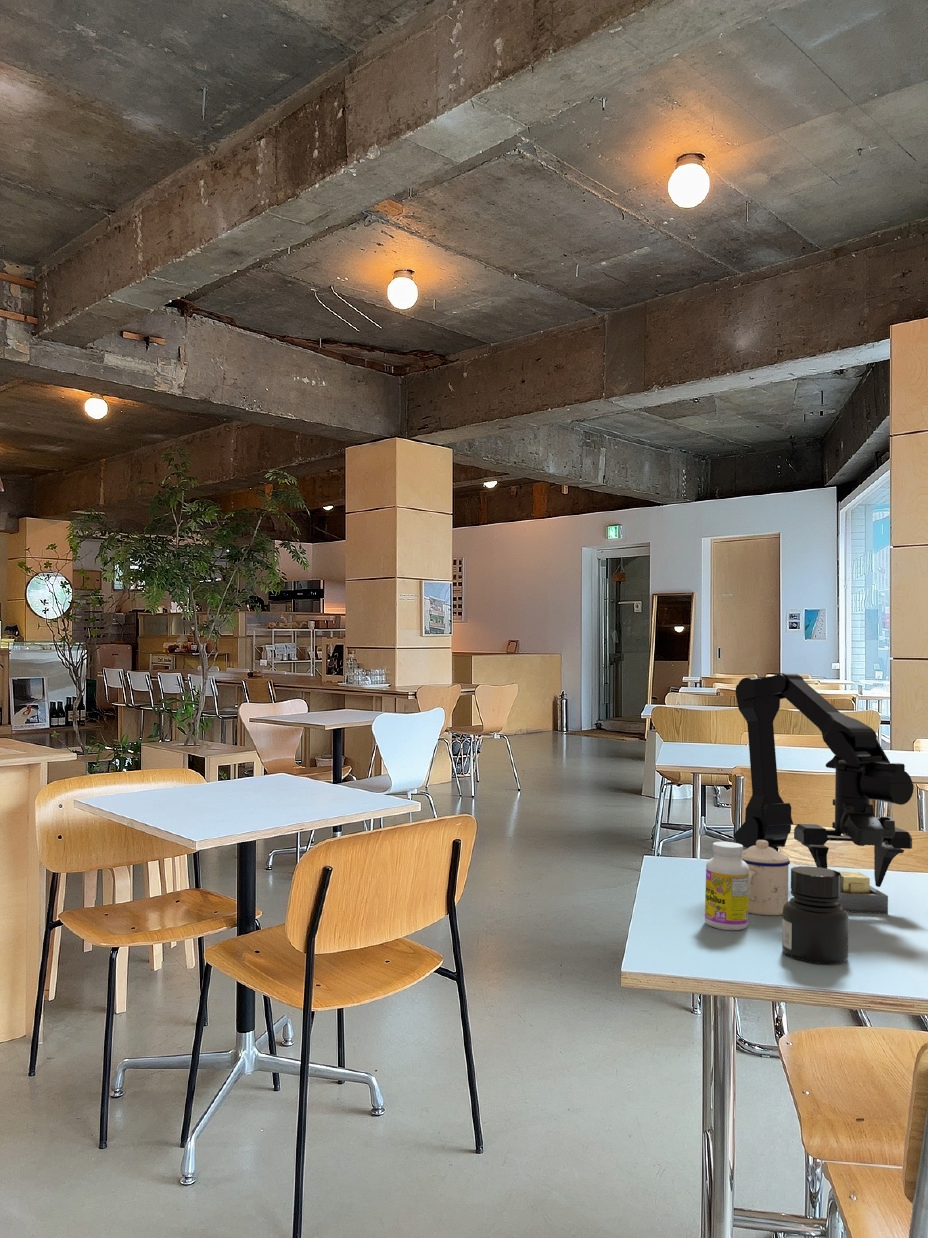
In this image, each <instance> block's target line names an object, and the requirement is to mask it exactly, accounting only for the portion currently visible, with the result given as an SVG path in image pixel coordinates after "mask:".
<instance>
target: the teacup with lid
mask: <svg viewBox="0 0 928 1238" xmlns="http://www.w3.org/2000/svg"><path fill="white" fill-rule="evenodd" d="M741 857H742V860H743V861H744V862H746V863H747V865H748V867H749V895H748V914H754V915H759V916H760V915H761V916H783V906H784V905H785V904H786V903H787V902H788V901H789V865H790V863H791V861H790V858H789V857H788V856H787V855H785V854H783V853H781V852H779V851H778V852H777V851H776V850H775V849H773V848H771V847H768V841H766V840H757V841H756V846H751V847H749V848H747V849H746V850H743V853H742V856H741Z"/></svg>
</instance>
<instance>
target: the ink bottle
mask: <svg viewBox="0 0 928 1238" xmlns="http://www.w3.org/2000/svg"><path fill="white" fill-rule="evenodd" d="M790 895H791V896H792V897H791V898H790V899H789V900H788V902H787V903H786V904H785V905H784V906H783V914H782V925H781V928H782V933H781V935H782V936H781V938H782V939H781V941H782V942H781V944H782V945H781V946H782V947H781V948H782V951H783V953H784V954H786V955H787V956H789V957H791V958H794V959H797V960H800V961H805V962H809V963H813V964H821V965H833V964H840V963H843V962H845V961H846V960H847V961H848V957H849V924H850V923H849V921H850V920H849V919H850V917H849V914H848V913H849V912H847V911H846V910H845V909H844V908H843V907H842V906H841V904H840V903H838V902H837V901H839V900H840V899H841V896H840V895H841V874H840V872H837V870H833V869H832V868H831V869H830V868H828V869H826V868H820V867H817V866H811V865H810V866H809V865H807V866H804V865H803V866H801V865H800V866H793V867H791V868H790Z"/></svg>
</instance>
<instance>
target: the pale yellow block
mask: <svg viewBox="0 0 928 1238" xmlns="http://www.w3.org/2000/svg"><path fill="white" fill-rule="evenodd" d="M836 871H837V870H836ZM837 872H840V874H841V893H859V894H870V886H871V885H870V881H871V879H870V877H869V876H867V875H865V874H863V873H861V872H859V871H839V870H838V871H837Z"/></svg>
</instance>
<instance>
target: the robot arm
mask: <svg viewBox="0 0 928 1238" xmlns="http://www.w3.org/2000/svg"><path fill="white" fill-rule="evenodd" d="M735 697H736V703H737V707H738V708H737V709H738V710H739V712H740V714H741V715H742V717H743V718H744V720H745V722H746V724H747V725H746V726H747V737H748V751H749V764H750V765H749V767H750V776H751V777H750V778H751V792H752V795H751V797H750V799H749V801H748V803H747V806H746V807H745V813H744V814H745V817H744V823H742V825H741V826H740V827H739V828H738V829H737V830H736V831H735V833H734V834H733V836H734V841H735V842H734V843H738V844H741V845H743V850H746V849H747V848H749V847H751V846H756V841H757V840H766V841H768V847H771V848H773V849H775V850H776V851H777V852H779V847H782V848H784V847H785V846H786V842H787V840H788V836H789V835H790V833H791V831H792V825H794V821H793V818H792V806H791V803H790V802H786V803H785V802H784V800H783V798H782V797H781V796H780V792H779V783H778V781H779V780H778V779H779V778H778V771H777V769H778V768H777V757H776V756H777V755H776V742H775V730H774V729H775V727H774V721H775V718H776V716H777V714H778V712H779V710H780V708H781V707H780V705H781V700H783V699H786V700H787V701H788V702H789V703H790V704H791V705H793V706H794V707H795V708H796V709H797V710H798V711H799V712H800V713H801V714H802V715H803V716H805V717H806V718H807V719H808V720H809V721H810V722H811V723H812V724H814V725H815V727H816V728H817V729H819V731H820V732H821V736H822V740H823V742H824V743H825V745H826V747H828V749H829V750H830V751H831V752H832V754H833V755H834V756H833V758H832V759H831V760H829V761H828V762H826V764H825V767H826V768H829V769H835V775H834V776H835V777H834V778H835V779H834V780H835V781H834V783H835V784H834V785H835V786H834V790H835V791H834V796H835V797H834V798H832V806H834V821H832V829H826V828H825V827H823V826H821V825H819V824H816V823H815V824H811V823H797V824H796V825H795V826H794V829H793V839H794V840H796V841H797V842H799V843H800V844H801V845H803V846H804V847H807V848H808V850H809V852H810V854H811V856H812V859H813V862H814V863H815V867H820V868H826V869H829V868H828V852H829V850H830V847H828V846H826V845H825V844H826V843H827V842H828V841H837V842H840V841H841V842H842V841H843V842H852V843H853V844H854V845H856V846H859V847H864V846H873V847H874V849H873V850H874V851H873V853H874V854H873V857H874V858H873V859H874V863H873V864H874V872H873V873H874V883H875V886H876V887H877V888H880V887H882V883H883V881H884V879H885V876H886V874H887V872H888V869H889V868H890V867H889V866H890V865H891V863H892V861H893V860H894V858H895V857H896V856H897V855H899V854H904V852H905V850H906V849H909V850H910V849H913V838H912V835H911V833H910V832H909V831H907V830H904V829H902V828H899V827H897V826H896V821H895V819H894V818H893V817H892V816H880V817H876V816H875V814H874V810H875V808H874V805H873V803H872V804H871V800H873V801H877V802H883V803H889V804H893V805H900V806H903V805H906V804H907V803H908V802H910V800H911V798H912V797H913V793H914V787H915V786H914V783H913V781H912V777H911V776H910V774H909V773H908V772H907V771H905V770H906V769H905V765H906V764H905V763H901V762H900V763H899V762H898V763H897V762H894V763H893V762H891V761H890V760H889V758H888V756H887V755H886V753H885V751H884V749H883V747H882V745H881V744H880V742H879V741H878V739H877V737H878V736H877V733H876V732H875V730H874V729H873V728H872V727H870V726H869V725H867V724H866V723H864V722H862V721H860V720H858V719H856V718H854V717H850V716H848V715H845V714H844V713H842V712H840V710H838V708H836V707H834V706H833V705H832V704H831V703H830V702H829V701H828V700H827V699H825V698H824V697H823V696H822V695H821V694H819V692H818V691H817V690H815V688H813V687H812V686H810V685H809V684H808V683H807V682H806V681H805V680H804V678H803V676H802V675H800V674H799V673H798V674H797V673H784V672H781V673H778V674H775V675H770V676H766V677H765V676H764V677H744V678H743V677H742V678H741V679H740V680H739V682H738V684H736V686H735Z"/></svg>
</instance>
